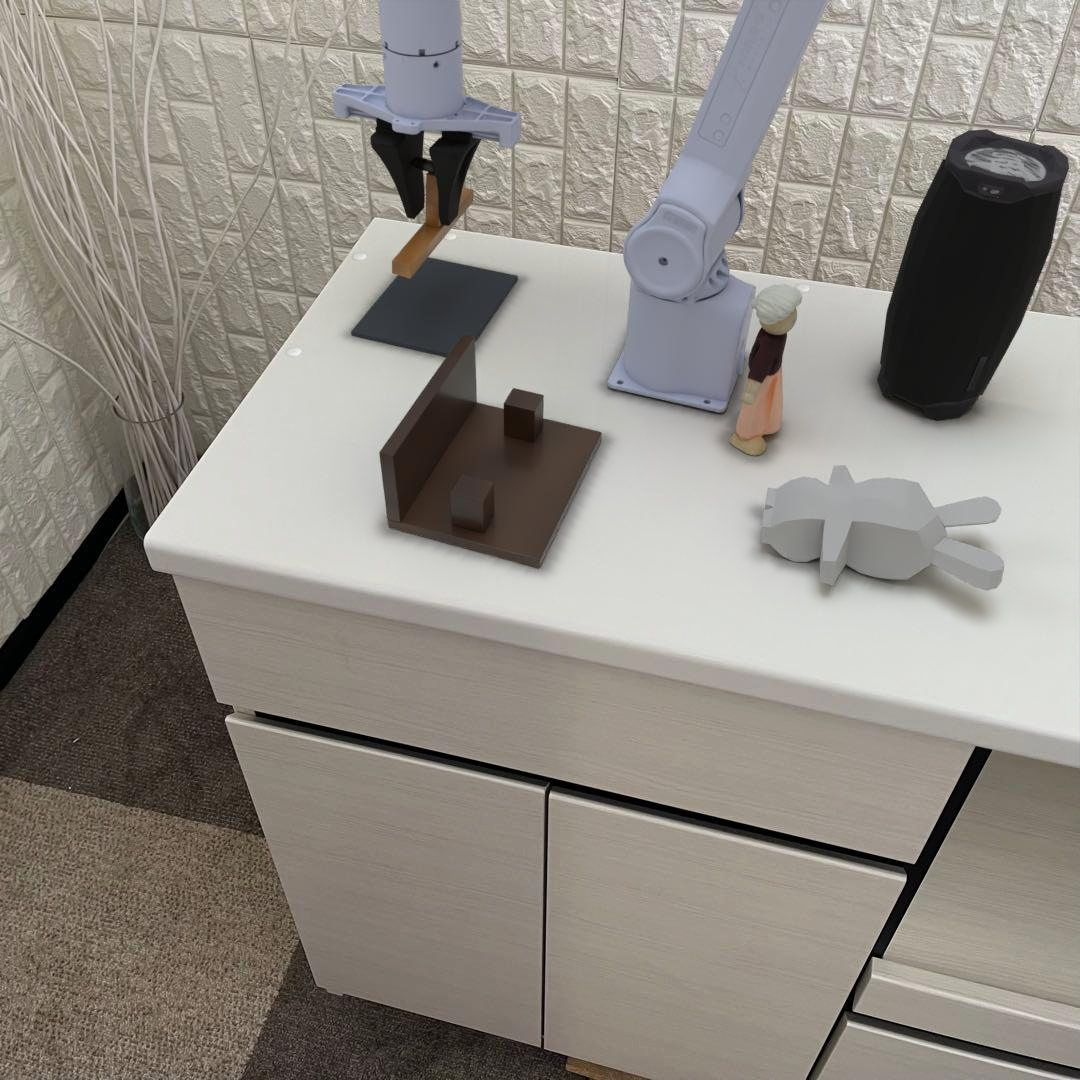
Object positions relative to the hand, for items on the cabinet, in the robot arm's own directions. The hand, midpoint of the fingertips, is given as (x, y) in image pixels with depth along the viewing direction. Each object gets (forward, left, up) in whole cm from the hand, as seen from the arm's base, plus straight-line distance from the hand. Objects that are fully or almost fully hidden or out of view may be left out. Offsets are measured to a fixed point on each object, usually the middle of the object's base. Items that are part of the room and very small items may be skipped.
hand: (432, 216), depth 85 cm
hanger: (0, 0, -2) cm, 2 cm away
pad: (0, 0, -9) cm, 9 cm away
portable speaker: (-41, -3, -9) cm, 42 cm away
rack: (-13, +19, -9) cm, 24 cm away
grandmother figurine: (-29, +7, -9) cm, 31 cm away
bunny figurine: (-39, +17, -9) cm, 43 cm away
